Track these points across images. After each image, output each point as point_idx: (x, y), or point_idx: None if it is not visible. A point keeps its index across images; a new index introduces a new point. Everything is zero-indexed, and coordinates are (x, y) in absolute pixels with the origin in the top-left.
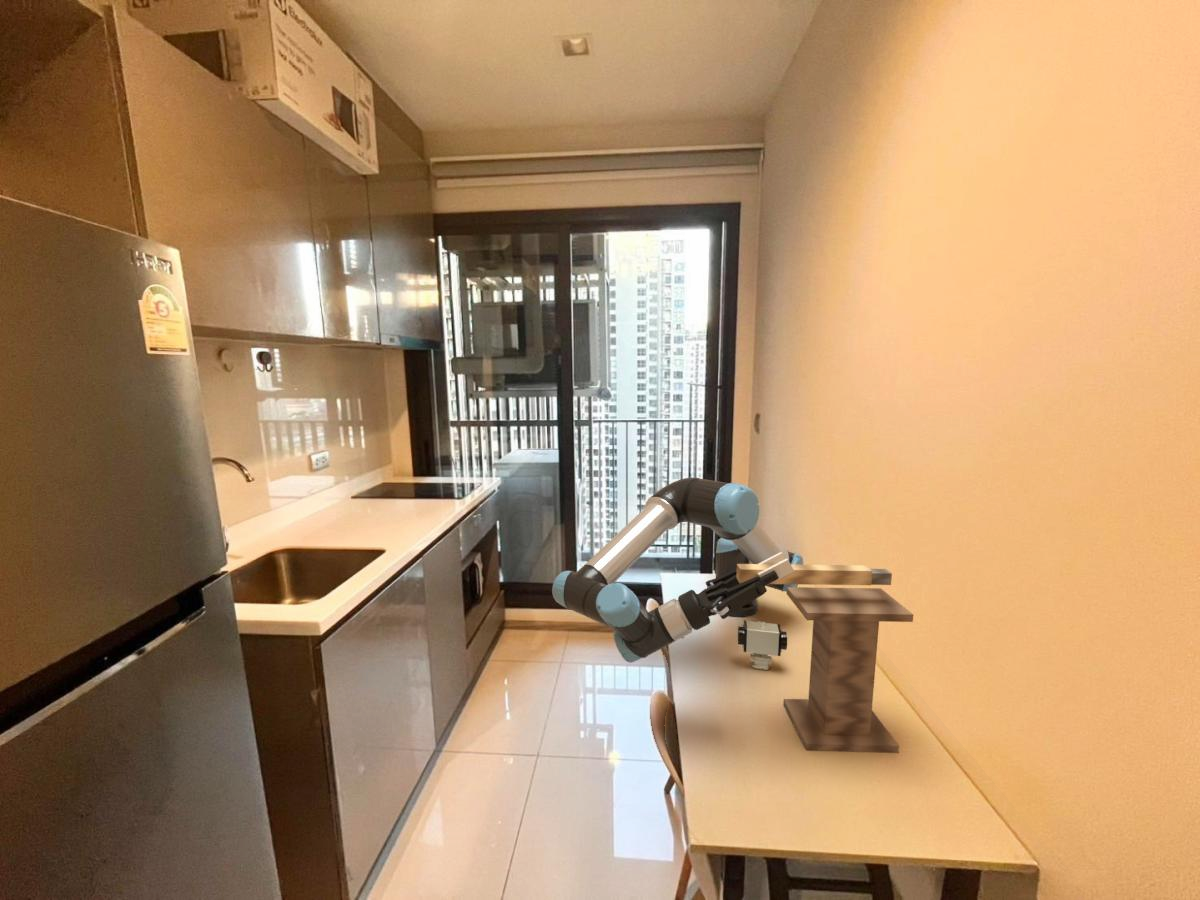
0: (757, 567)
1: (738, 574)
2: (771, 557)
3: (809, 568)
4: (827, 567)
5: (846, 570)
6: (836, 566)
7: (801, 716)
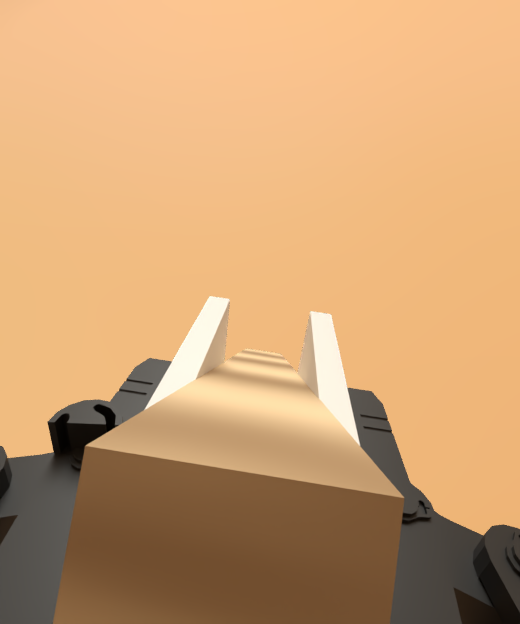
0: (273, 401)
1: None
2: (202, 326)
3: (273, 363)
4: (261, 356)
5: (283, 357)
6: (253, 353)
7: None
